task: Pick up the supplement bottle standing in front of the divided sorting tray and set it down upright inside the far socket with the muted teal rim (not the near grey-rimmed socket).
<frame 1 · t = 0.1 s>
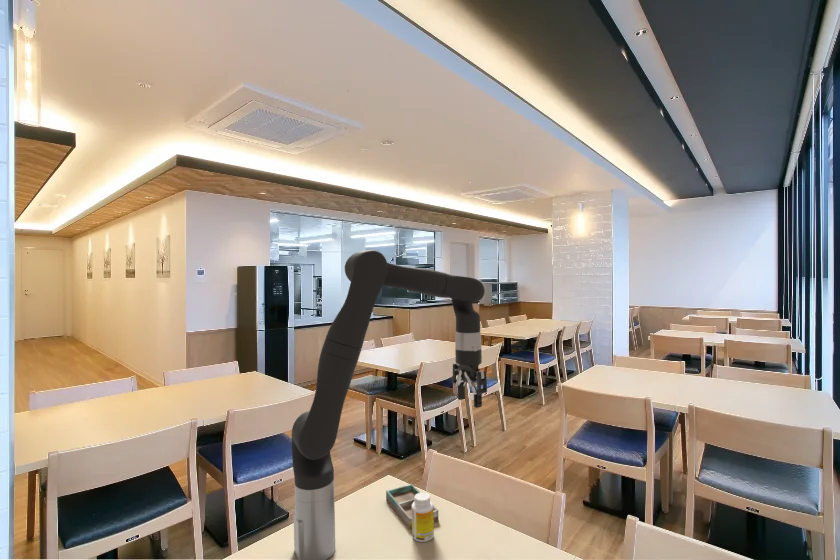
hand: (469, 403, 122), 29 cm above the table, fingers open, 8 cm apart
supplement bottle: (423, 537, 107), on the table
divided sorting tray: (411, 510, 119), on the table
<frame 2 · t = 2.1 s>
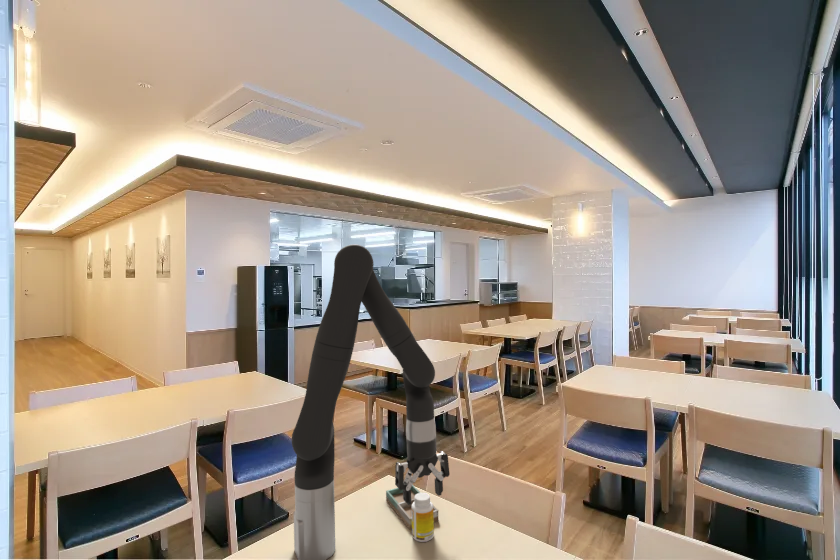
hand: (423, 498, 107), 10 cm above the table, fingers open, 8 cm apart
nothing on the table moved.
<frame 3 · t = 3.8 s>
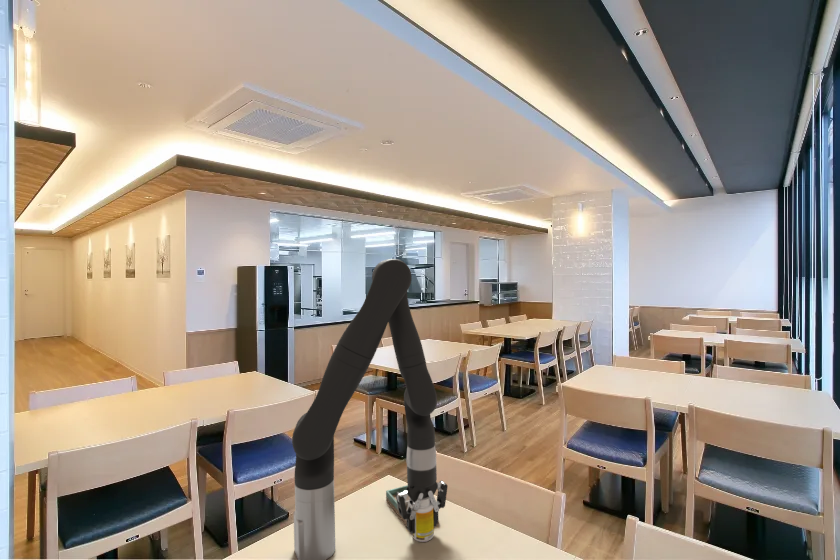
hand: (422, 528, 107), 2 cm above the table, fingers closed on supplement bottle, 5 cm apart
supplement bottle: (423, 537, 107), on the table, touching gripper
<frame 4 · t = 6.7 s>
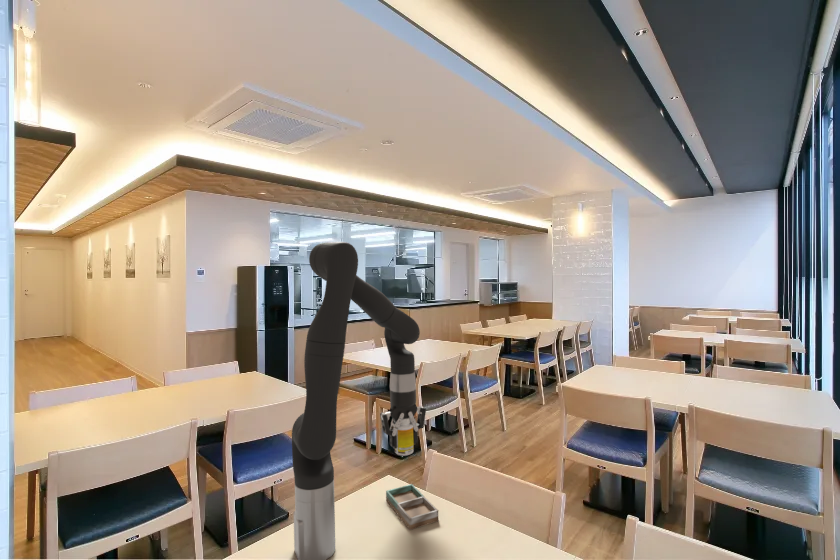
hand: (404, 445, 122), 17 cm above the table, fingers closed on supplement bottle, 5 cm apart
supplement bottle: (404, 453, 122), point 15 cm above the table, touching gripper
when the fingers open (4 cm above the table, at t = 9.9 s): supplement bottle stays where it is, resting on divided sorting tray.
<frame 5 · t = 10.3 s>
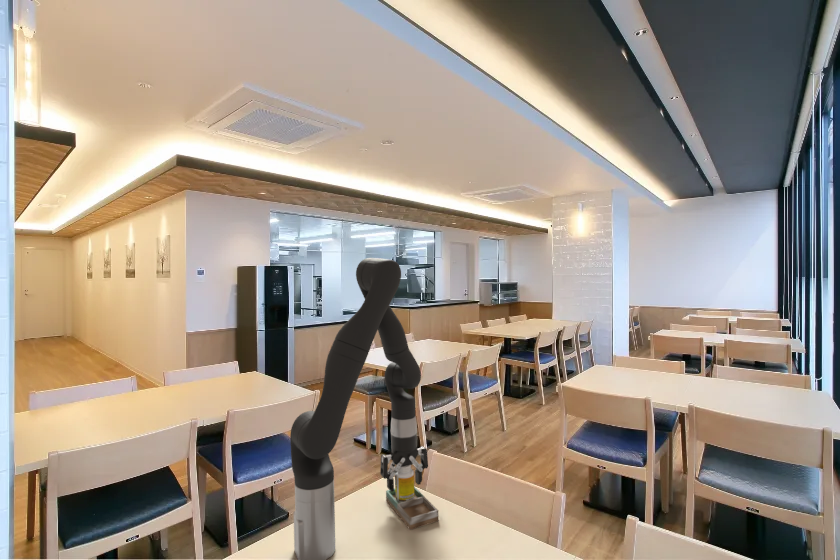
hand: (404, 486, 122), 5 cm above the table, fingers open, 8 cm apart
supplement bottle: (405, 500, 122), point 1 cm above the table, touching divided sorting tray
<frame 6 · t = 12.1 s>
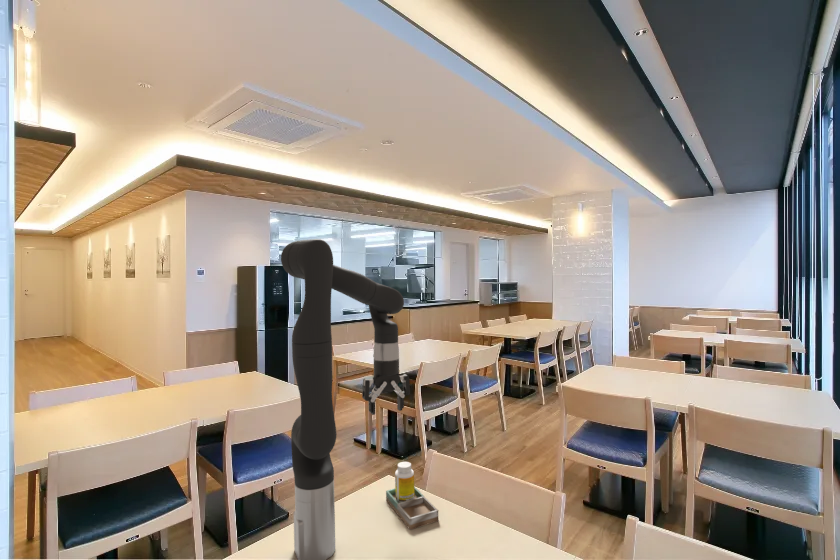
hand: (386, 412, 124), 26 cm above the table, fingers open, 8 cm apart
nothing on the table moved.
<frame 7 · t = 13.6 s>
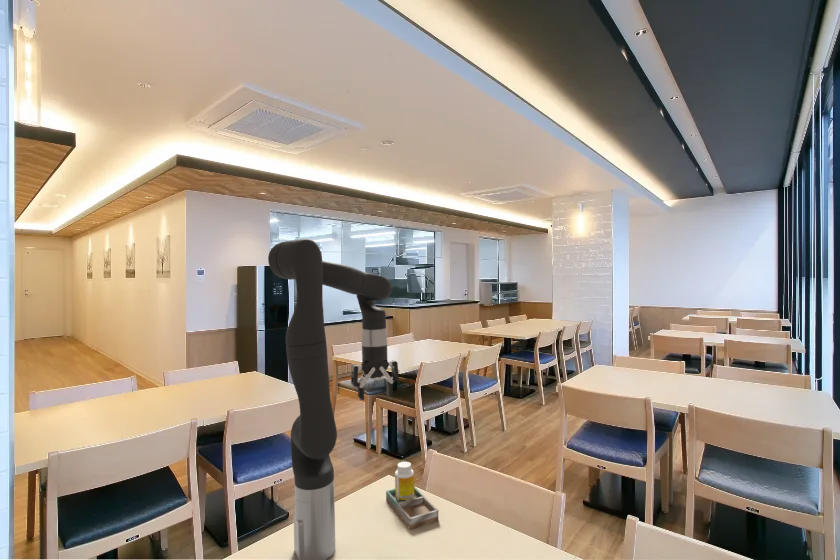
hand: (375, 397, 126), 30 cm above the table, fingers open, 8 cm apart
nothing on the table moved.
at the end: supplement bottle 0.1 cm from the target spot on the divided sorting tray, point 1.0 cm above the divided sorting tray's base; supplement bottle tilted 0°; the gripper is holding nothing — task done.
